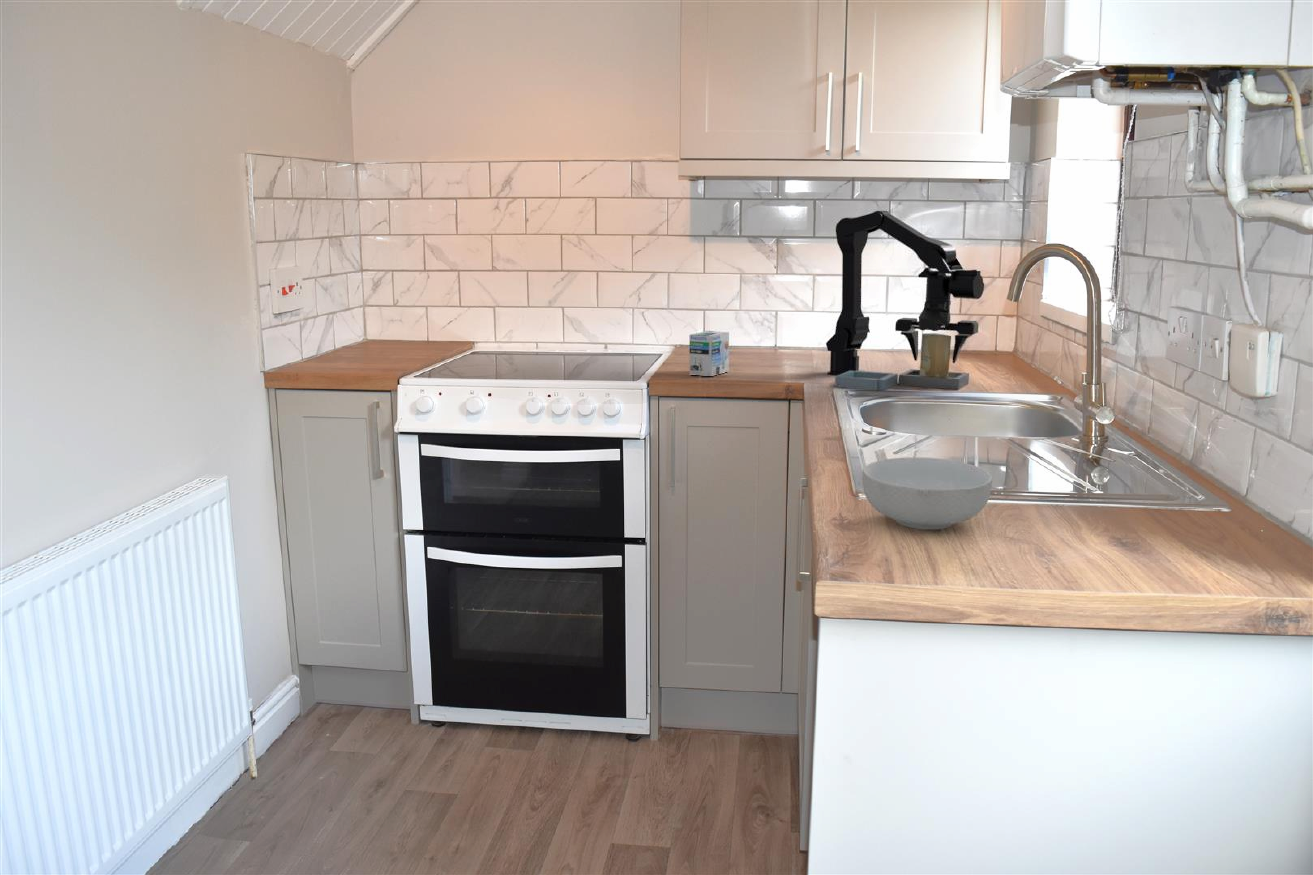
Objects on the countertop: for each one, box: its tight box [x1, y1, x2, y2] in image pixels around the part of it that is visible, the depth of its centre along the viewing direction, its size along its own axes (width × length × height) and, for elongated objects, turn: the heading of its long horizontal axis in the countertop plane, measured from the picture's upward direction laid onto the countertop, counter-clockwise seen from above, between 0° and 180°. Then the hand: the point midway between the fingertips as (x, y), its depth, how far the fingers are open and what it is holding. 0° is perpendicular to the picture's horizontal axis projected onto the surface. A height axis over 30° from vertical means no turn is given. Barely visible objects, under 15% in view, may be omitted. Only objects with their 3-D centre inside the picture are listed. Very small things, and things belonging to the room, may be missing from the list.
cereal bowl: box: [862, 456, 993, 531], centre depth 141 cm, size 17×17×7 cm
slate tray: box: [834, 370, 899, 391], centre depth 252 cm, size 12×12×2 cm
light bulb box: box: [689, 330, 730, 376], centre depth 270 cm, size 11×7×11 cm, turn 151°
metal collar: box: [897, 368, 970, 391], centre depth 253 cm, size 14×10×2 cm
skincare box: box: [919, 332, 952, 377], centre depth 252 cm, size 6×4×12 cm
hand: (934, 361), depth 252 cm, fingers open, 9 cm apart
